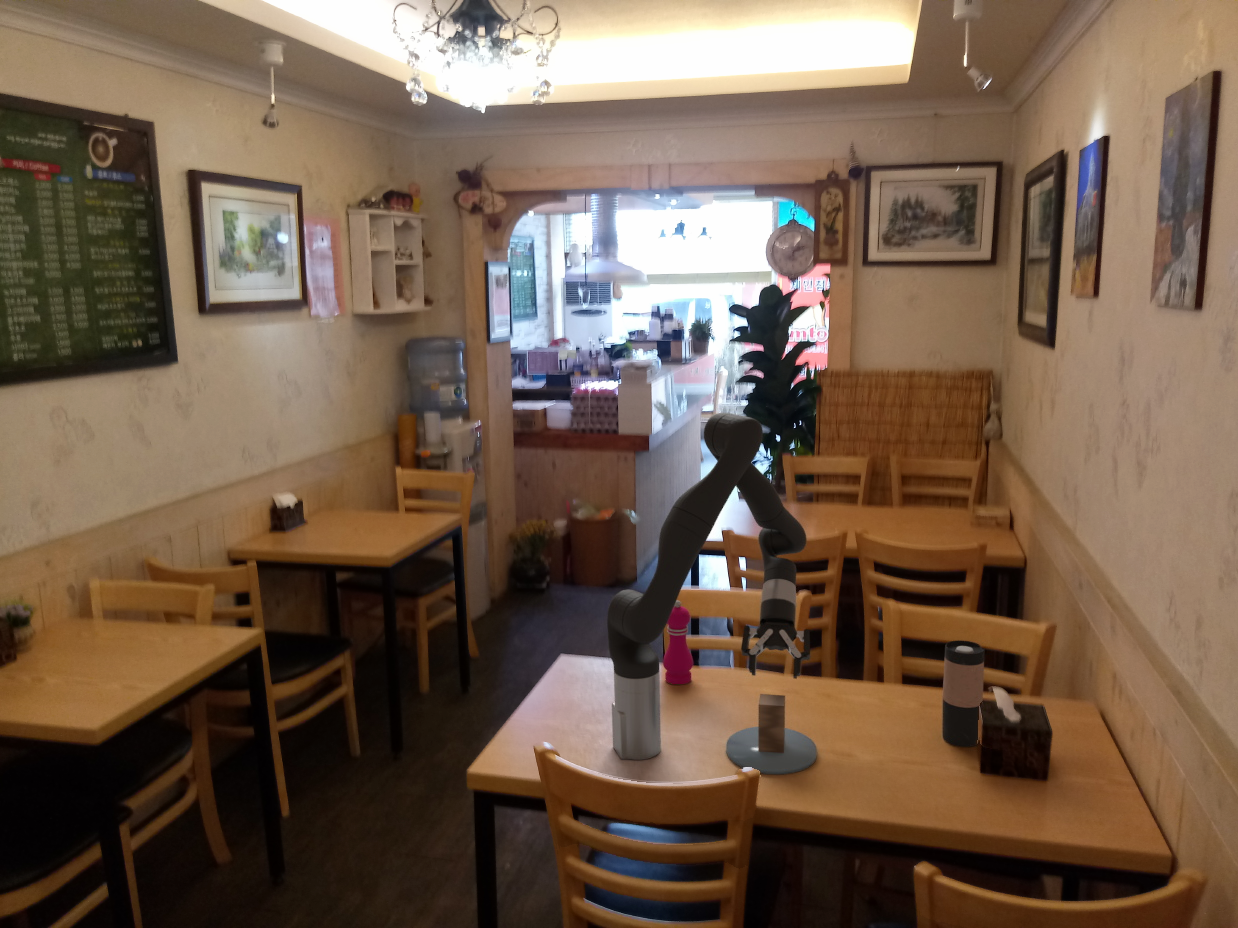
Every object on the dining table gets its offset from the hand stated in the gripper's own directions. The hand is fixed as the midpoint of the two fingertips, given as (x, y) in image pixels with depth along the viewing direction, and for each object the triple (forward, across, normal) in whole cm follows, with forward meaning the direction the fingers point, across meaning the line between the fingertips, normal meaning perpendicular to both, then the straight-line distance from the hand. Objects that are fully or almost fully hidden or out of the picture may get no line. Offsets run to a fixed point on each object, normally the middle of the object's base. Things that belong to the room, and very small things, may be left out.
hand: (774, 675), depth 192 cm
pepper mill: (-8, -24, +27) cm, 37 cm away
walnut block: (+14, 0, +4) cm, 14 cm away
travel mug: (+6, +38, +14) cm, 40 cm away
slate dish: (+14, 0, +4) cm, 15 cm away
